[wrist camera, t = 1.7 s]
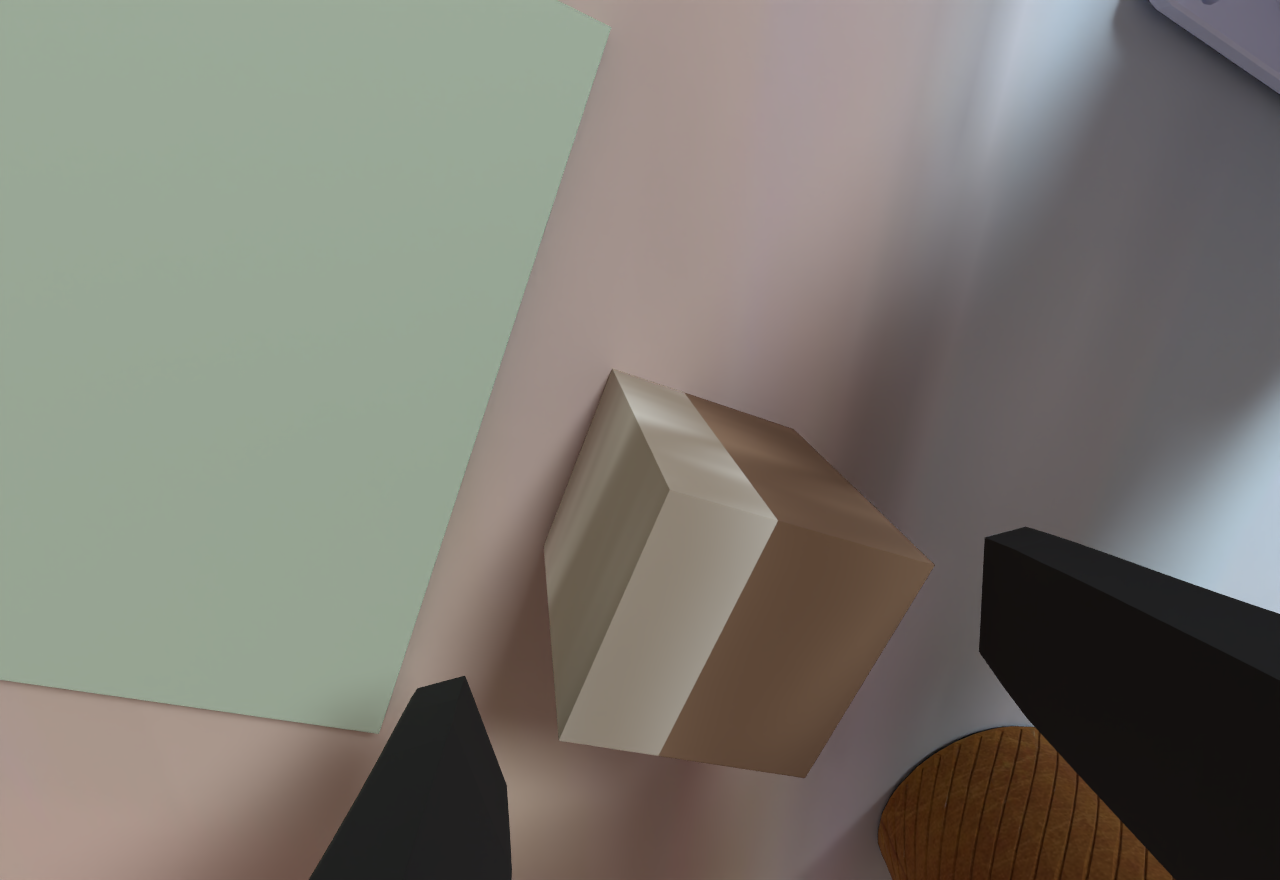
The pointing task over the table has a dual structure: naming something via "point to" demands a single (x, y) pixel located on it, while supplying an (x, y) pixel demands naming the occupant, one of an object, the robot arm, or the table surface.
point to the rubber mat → (257, 327)
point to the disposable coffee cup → (1006, 818)
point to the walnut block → (714, 585)
